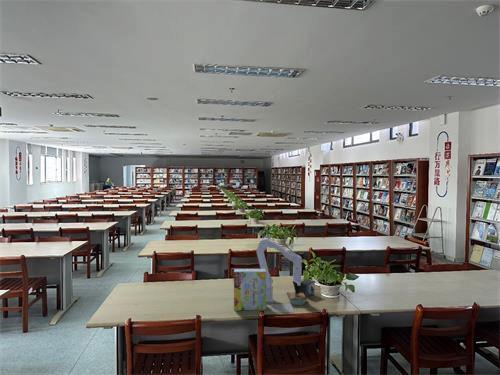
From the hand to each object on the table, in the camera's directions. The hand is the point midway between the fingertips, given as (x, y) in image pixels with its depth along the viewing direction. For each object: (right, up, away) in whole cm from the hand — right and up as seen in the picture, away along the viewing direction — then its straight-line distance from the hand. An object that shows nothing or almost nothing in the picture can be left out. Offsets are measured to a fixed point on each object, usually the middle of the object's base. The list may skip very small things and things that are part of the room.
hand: (296, 292), depth 242 cm
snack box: (-33, -8, -10) cm, 35 cm away
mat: (-12, -8, -10) cm, 17 cm away
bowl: (0, -7, 0) cm, 7 cm away
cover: (0, -3, 0) cm, 3 cm away
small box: (+9, -7, +16) cm, 20 cm away
